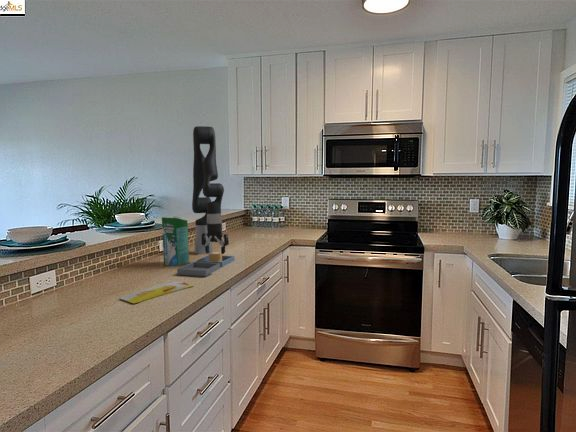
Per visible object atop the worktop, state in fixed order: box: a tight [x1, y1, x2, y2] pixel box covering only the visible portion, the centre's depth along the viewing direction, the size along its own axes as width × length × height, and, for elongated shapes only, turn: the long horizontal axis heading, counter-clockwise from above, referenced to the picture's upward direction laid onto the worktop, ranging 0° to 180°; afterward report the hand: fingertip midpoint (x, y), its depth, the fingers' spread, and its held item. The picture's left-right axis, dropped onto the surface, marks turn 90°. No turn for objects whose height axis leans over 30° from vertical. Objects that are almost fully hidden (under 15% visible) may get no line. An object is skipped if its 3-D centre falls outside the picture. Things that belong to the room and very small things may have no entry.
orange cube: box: [208, 251, 223, 262], centre depth 192 cm, size 5×5×5 cm
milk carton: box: [161, 216, 190, 267], centre depth 192 cm, size 9×9×25 cm
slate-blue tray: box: [195, 254, 235, 268], centre depth 193 cm, size 15×15×3 cm
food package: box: [118, 281, 195, 304], centre depth 146 cm, size 27×2×10 cm
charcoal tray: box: [176, 261, 221, 278], centre depth 176 cm, size 15×15×3 cm
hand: (215, 253), depth 192 cm, fingers open, 8 cm apart
